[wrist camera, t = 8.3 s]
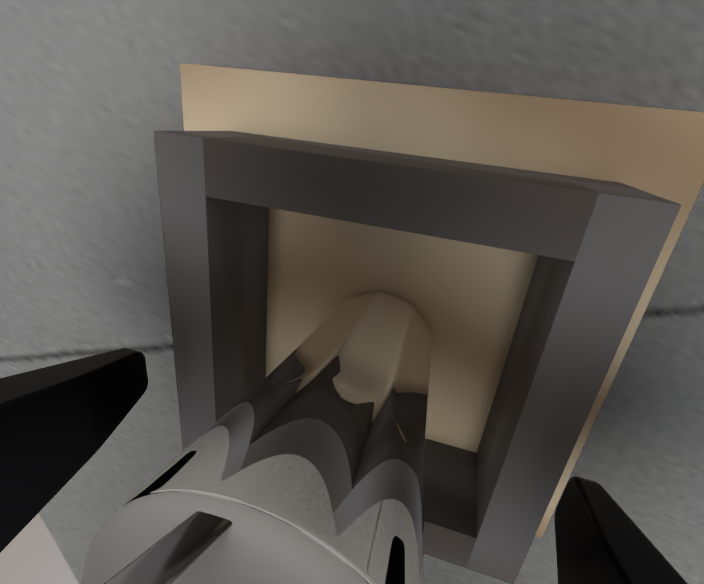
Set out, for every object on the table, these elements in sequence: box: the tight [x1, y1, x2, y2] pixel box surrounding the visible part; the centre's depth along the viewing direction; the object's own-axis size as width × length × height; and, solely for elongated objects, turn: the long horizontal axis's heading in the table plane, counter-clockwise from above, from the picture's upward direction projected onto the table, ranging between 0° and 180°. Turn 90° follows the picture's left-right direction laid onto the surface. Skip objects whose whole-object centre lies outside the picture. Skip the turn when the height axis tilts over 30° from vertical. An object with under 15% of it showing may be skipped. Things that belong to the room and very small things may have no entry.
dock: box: [154, 63, 704, 584], centre depth 11 cm, size 13×13×4 cm
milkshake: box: [82, 291, 433, 584], centre depth 8 cm, size 4×5×10 cm
